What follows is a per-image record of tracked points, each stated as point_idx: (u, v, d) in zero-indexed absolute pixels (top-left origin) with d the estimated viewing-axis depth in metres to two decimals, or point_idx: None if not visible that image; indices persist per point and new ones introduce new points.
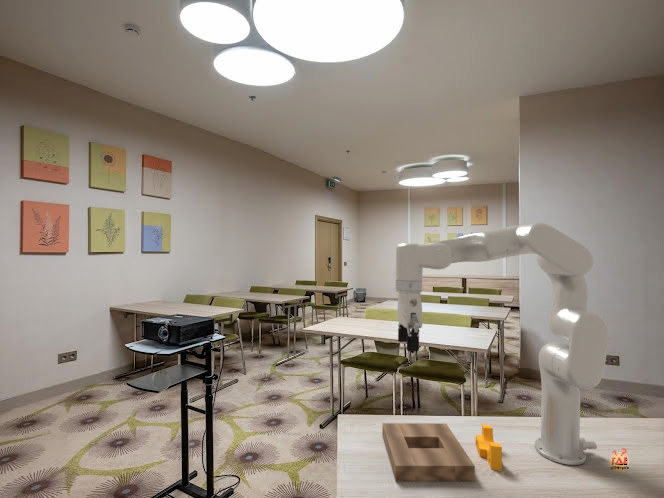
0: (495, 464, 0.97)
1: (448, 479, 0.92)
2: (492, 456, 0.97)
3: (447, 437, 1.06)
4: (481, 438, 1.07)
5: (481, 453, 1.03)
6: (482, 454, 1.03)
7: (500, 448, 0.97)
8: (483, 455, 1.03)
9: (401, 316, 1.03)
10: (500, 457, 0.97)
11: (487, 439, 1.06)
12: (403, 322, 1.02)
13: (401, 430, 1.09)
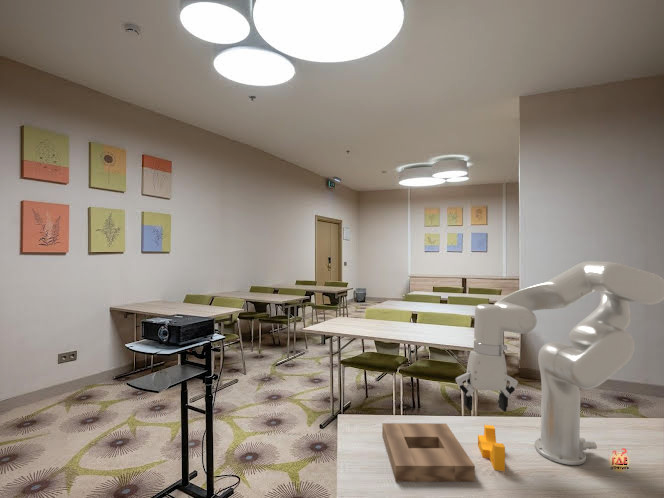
0: (498, 465, 0.97)
1: (448, 479, 0.92)
2: (495, 457, 0.97)
3: (447, 437, 1.06)
4: (483, 439, 1.07)
5: (484, 454, 1.03)
6: (485, 455, 1.03)
7: (503, 448, 0.97)
8: (486, 456, 1.03)
9: (494, 381, 1.01)
10: (503, 458, 0.97)
11: (489, 439, 1.06)
12: (499, 386, 1.01)
13: (401, 430, 1.09)
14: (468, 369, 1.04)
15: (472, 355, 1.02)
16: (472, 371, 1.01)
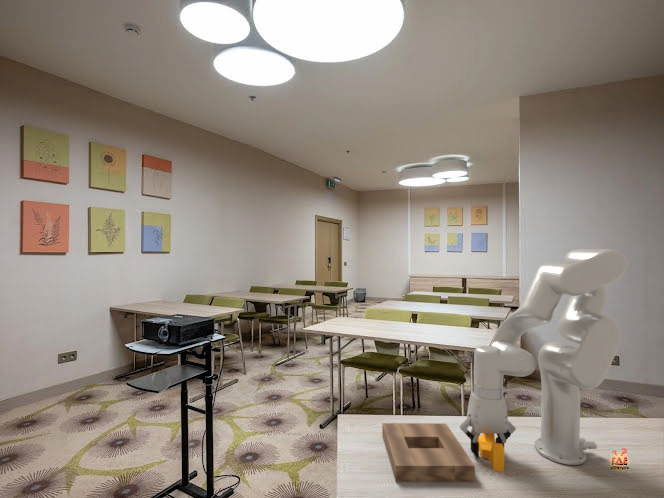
0: (497, 465, 0.97)
1: (448, 479, 0.92)
2: (494, 457, 0.97)
3: (447, 437, 1.06)
4: (482, 439, 1.07)
5: (483, 454, 1.03)
6: (484, 455, 1.03)
7: (502, 448, 0.97)
8: (485, 456, 1.03)
9: (495, 424, 1.01)
10: (502, 458, 0.97)
11: (488, 439, 1.06)
12: (500, 429, 1.01)
13: (401, 430, 1.09)
14: (469, 412, 1.04)
15: (473, 399, 1.02)
16: (472, 415, 1.02)
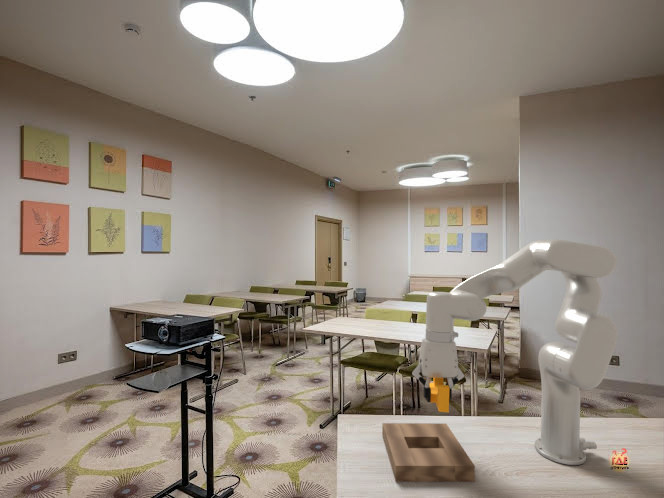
0: (443, 405, 0.96)
1: (448, 479, 0.92)
2: (439, 398, 0.97)
3: (447, 437, 1.06)
4: (431, 385, 1.06)
5: (431, 398, 1.02)
6: (432, 399, 1.02)
7: (448, 389, 0.96)
8: (432, 400, 1.02)
9: (445, 368, 1.00)
10: (448, 398, 0.96)
11: (437, 385, 1.05)
12: (450, 373, 1.01)
13: (401, 430, 1.09)
14: (420, 357, 1.03)
15: (424, 343, 1.02)
16: (422, 358, 1.01)
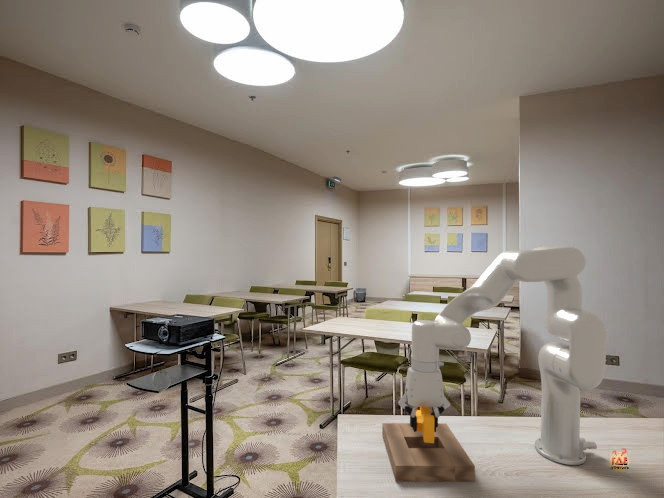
0: (428, 436, 0.97)
1: (448, 479, 0.92)
2: (425, 429, 0.97)
3: (447, 437, 1.06)
4: (418, 413, 1.06)
5: (417, 427, 1.02)
6: (418, 428, 1.02)
7: (433, 420, 0.96)
8: (419, 429, 1.02)
9: (431, 398, 1.01)
10: (433, 429, 0.96)
11: (424, 413, 1.05)
12: (436, 402, 1.01)
13: (401, 430, 1.09)
14: (406, 386, 1.03)
15: (409, 372, 1.02)
16: (408, 388, 1.01)
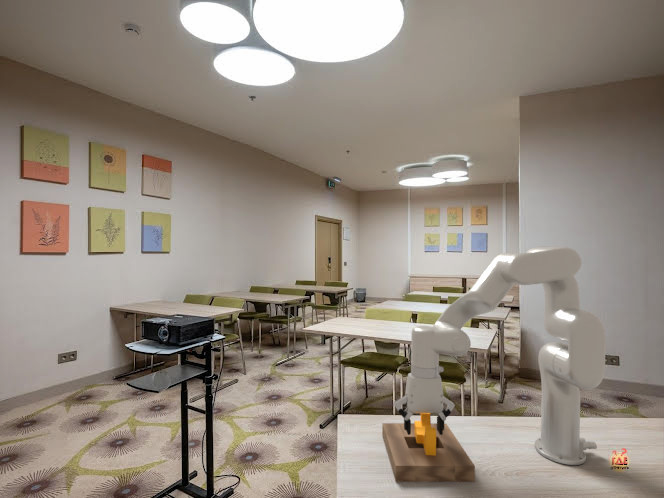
0: (430, 449, 0.97)
1: (448, 479, 0.92)
2: (426, 441, 0.97)
3: (447, 437, 1.06)
4: (419, 424, 1.06)
5: (418, 439, 1.02)
6: (419, 440, 1.02)
7: (434, 432, 0.96)
8: (420, 441, 1.02)
9: (431, 404, 1.01)
10: (434, 441, 0.96)
11: (424, 424, 1.06)
12: (436, 408, 1.01)
13: (401, 430, 1.09)
14: (406, 392, 1.03)
15: (409, 378, 1.02)
16: (408, 394, 1.01)
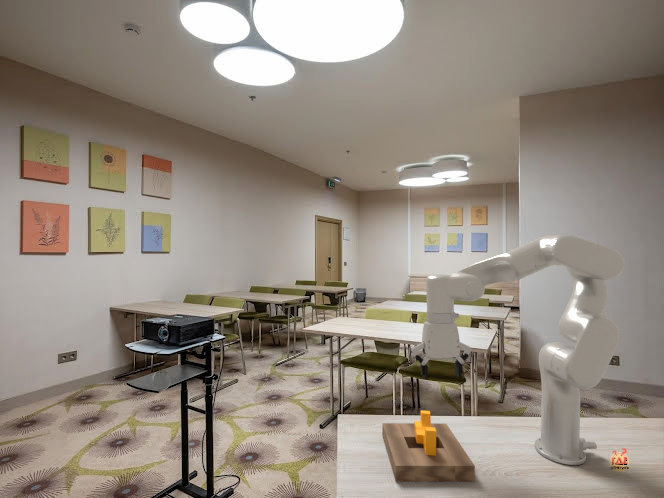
0: (430, 449, 0.97)
1: (448, 479, 0.92)
2: (426, 441, 0.97)
3: (447, 437, 1.06)
4: (419, 424, 1.06)
5: (418, 439, 1.02)
6: (419, 440, 1.02)
7: (434, 432, 0.96)
8: (420, 441, 1.02)
9: (448, 348, 1.03)
10: (434, 441, 0.96)
11: (424, 424, 1.06)
12: (453, 353, 1.03)
13: (401, 430, 1.09)
14: (423, 339, 1.06)
15: (426, 325, 1.04)
16: (425, 340, 1.04)
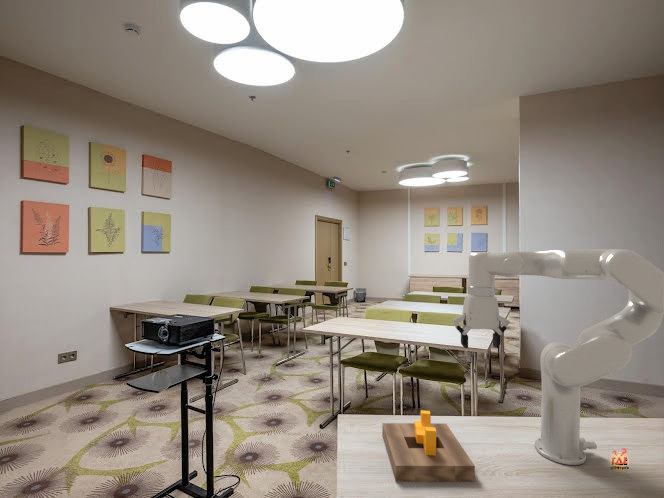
0: (430, 449, 0.97)
1: (448, 479, 0.92)
2: (426, 441, 0.97)
3: (447, 437, 1.06)
4: (419, 424, 1.06)
5: (418, 439, 1.02)
6: (419, 440, 1.02)
7: (434, 432, 0.96)
8: (420, 441, 1.02)
9: (488, 320, 1.11)
10: (434, 441, 0.96)
11: (424, 424, 1.06)
12: (492, 325, 1.11)
13: (401, 430, 1.09)
14: (464, 311, 1.14)
15: (467, 298, 1.12)
16: (467, 312, 1.11)
